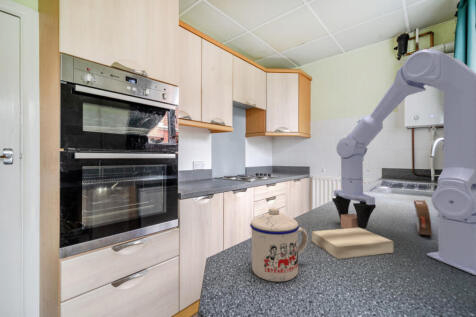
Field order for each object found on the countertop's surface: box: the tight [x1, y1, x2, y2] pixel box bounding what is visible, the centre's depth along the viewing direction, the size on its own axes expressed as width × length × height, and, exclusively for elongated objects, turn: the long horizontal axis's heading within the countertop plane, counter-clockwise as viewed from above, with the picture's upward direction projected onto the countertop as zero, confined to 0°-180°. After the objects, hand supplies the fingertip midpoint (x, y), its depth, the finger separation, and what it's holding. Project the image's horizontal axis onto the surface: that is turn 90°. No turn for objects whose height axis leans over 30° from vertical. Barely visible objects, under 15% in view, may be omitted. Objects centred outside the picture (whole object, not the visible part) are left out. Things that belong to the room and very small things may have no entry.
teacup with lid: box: [249, 207, 309, 282], centre depth 41 cm, size 12×9×12 cm
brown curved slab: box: [413, 199, 433, 237], centre depth 61 cm, size 15×3×8 cm, turn 143°
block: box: [340, 213, 366, 230], centre depth 64 cm, size 4×4×4 cm
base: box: [311, 227, 394, 260], centre depth 51 cm, size 10×14×2 cm
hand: (352, 224), depth 64 cm, fingers open, 7 cm apart
